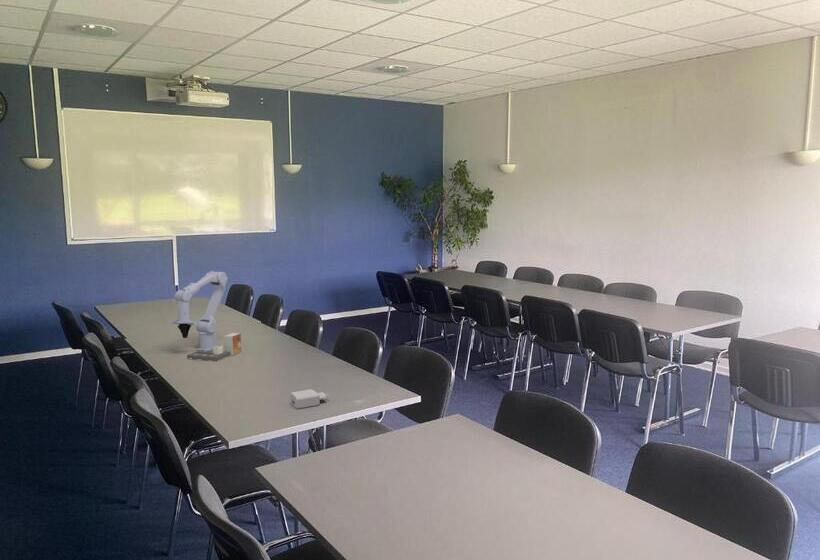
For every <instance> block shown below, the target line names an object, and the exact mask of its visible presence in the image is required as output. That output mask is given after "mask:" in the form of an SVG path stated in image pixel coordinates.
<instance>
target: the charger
mask: <svg viewBox="0 0 820 560" xmlns="http://www.w3.org/2000/svg"><path fill="white" fill-rule="evenodd" d="M289 394H290V395H289V398H290V404H291V405H292V406H293V407H294V408H295V409H297V410H298V409H305V408H309V407H316V406H319V405H320V404H321V401H323V400H326V399H327V397H330V394H329V393H324V392H323V391H322V392H317V391H316V390H315V389H312V388H311V389H305V390H299V391H293V392H290V393H289Z"/></svg>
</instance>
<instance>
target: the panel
mask: <svg viewBox="0 0 820 560" xmlns="http://www.w3.org/2000/svg"><path fill="white" fill-rule="evenodd" d="M230 356H231V355H230V352H227V351H224V350H223V353H222V354H219V355H215V354H214V350H213V349H212V350H196V351H194V352H192V353H189V354H187V355H186V359H187V358H192V359H191V360H195V359H202V360H201V361H208V360H212V361H211V362H219V361H221V360H223V359H225V357H226V358H228V357H230ZM218 360H219V361H218Z"/></svg>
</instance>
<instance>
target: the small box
mask: <svg viewBox="0 0 820 560" xmlns="http://www.w3.org/2000/svg"><path fill="white" fill-rule="evenodd" d="M241 334H242V333H238V332H237V333H236V332H231V333H229V334H226V335H223V351H227V352H230V356H235V355H238V354H240V352H241V353H242V335H241Z"/></svg>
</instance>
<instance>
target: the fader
mask: <svg viewBox="0 0 820 560" xmlns="http://www.w3.org/2000/svg"><path fill="white" fill-rule="evenodd" d="M212 350H213V351H214V354H215V355H219V354H222V353H223V351H224V345H217V346H216V347H214V348H213V349H212Z"/></svg>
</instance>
